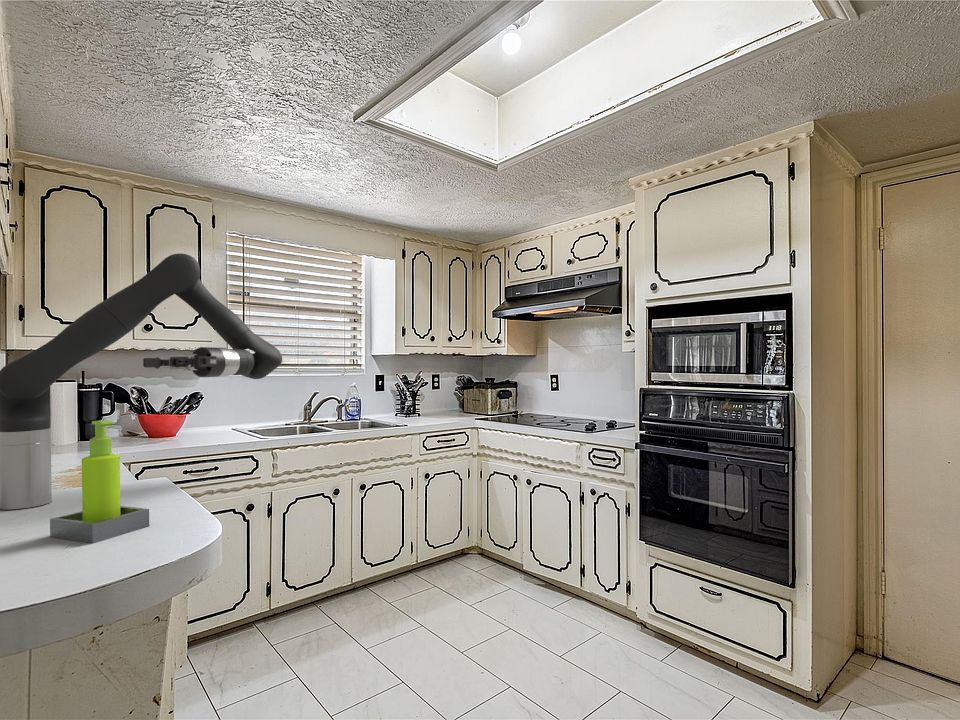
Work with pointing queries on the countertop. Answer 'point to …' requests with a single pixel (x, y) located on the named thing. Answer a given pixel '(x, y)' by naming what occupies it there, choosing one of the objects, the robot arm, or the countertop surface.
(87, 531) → the metal tray
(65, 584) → the countertop surface
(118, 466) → the soap dispenser
